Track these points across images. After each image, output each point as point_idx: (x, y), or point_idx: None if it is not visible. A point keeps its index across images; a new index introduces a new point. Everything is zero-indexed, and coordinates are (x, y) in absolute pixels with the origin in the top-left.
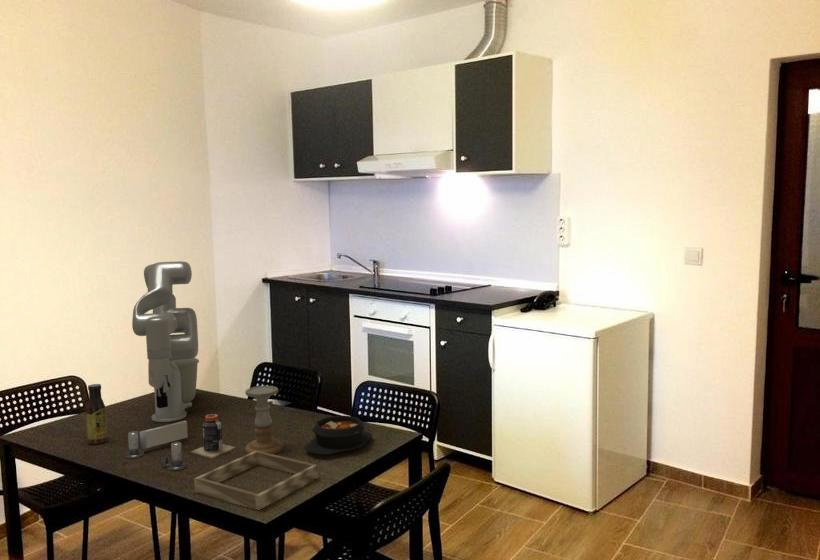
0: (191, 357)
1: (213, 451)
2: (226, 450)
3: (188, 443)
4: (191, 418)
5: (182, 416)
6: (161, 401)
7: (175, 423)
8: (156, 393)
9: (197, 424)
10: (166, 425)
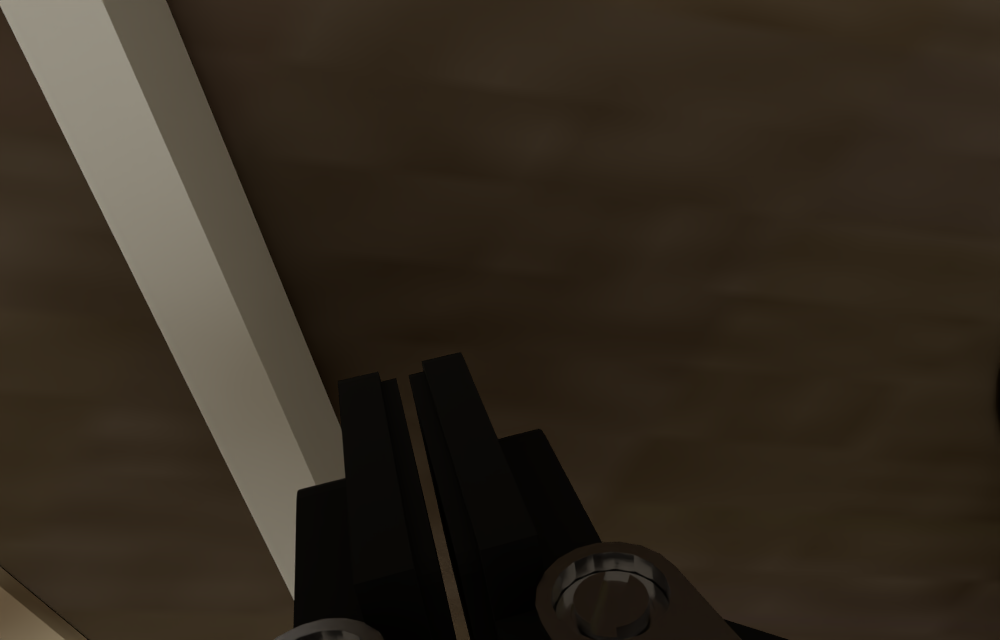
0: None
1: None
2: None
3: None
4: (969, 515)
5: None
6: (303, 563)
7: (281, 469)
8: (622, 602)
9: (774, 551)
10: (237, 342)
